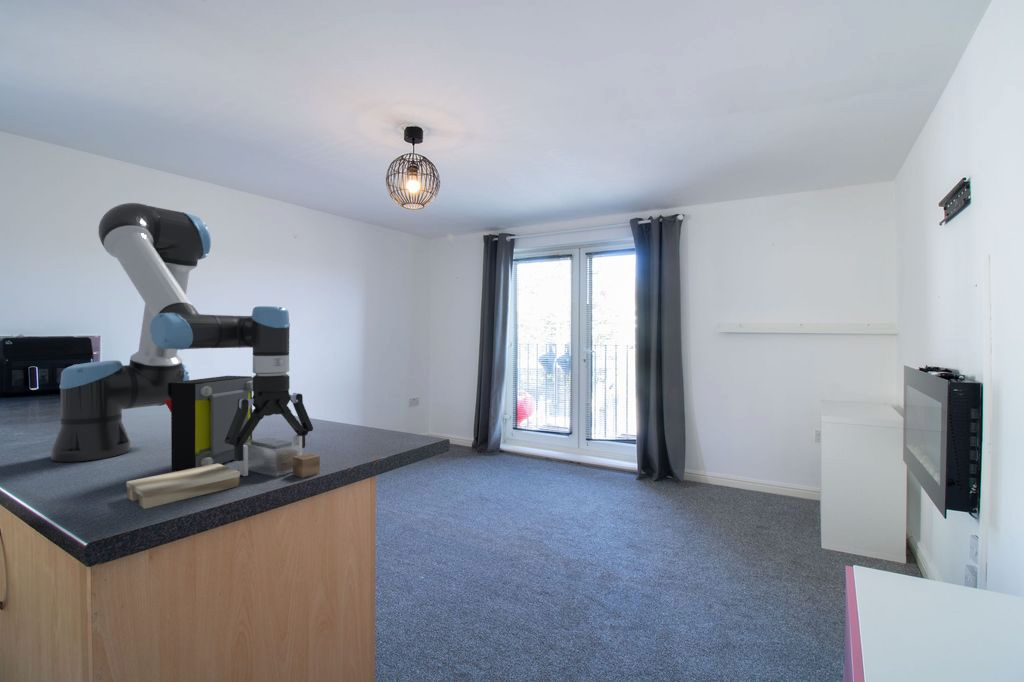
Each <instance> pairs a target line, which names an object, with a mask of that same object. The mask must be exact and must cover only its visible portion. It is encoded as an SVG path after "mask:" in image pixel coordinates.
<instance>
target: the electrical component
mask: <svg viewBox="0 0 1024 682" xmlns="http://www.w3.org/2000/svg"><path fill="white" fill-rule="evenodd" d="M168 395H169V397H170V398H171V400H167V399H166V400H165V403H166V404H165V405H166V406H167V408H168V409H169V411H170V419H171V421H170V423H171V427H170V428H171V433H170V434H171V436H170V437H171V439H170V441H171V447H170V448H171V453H170V454H171V459H170V461H171V465H170V466H171V472H177V471H182V470H187V469H192V468H197V467H202V466H207V465H212V464H217V463H219V464H221V465H223V464H225V463H227V462H230V461H233V460H234V461H235V458H234V456H235V455H234V454H235V453H234V445H230V444H227V443H225V438H226V436H227V433H228V431H229V428H230V426H231V423H232V421H233V419H234V416H235V414H236V411H237V406H238V400H239V399H252V397H253V376H249V375H247V376H246V375H221V376H214V377H213V376H212V377H207V378H206V377H205V378H197V379H189V380H187V381H179V382H171V383H168ZM252 412H253V404H252V405H251V407H250V408H249V409H248V412H247V415H246V418H245V420H244V423H243V425H242V428H243V427H244V425H245V424H246V422H247V421H248V419H249V418H250V417H251V413H252ZM242 428H241V430H242ZM241 430H240V431H241ZM253 440H254V439H253V432H252V433H251V435H250V436H249V438H248V439H247V441H246V442H245V443H248V442H251V441H253Z"/></svg>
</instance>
